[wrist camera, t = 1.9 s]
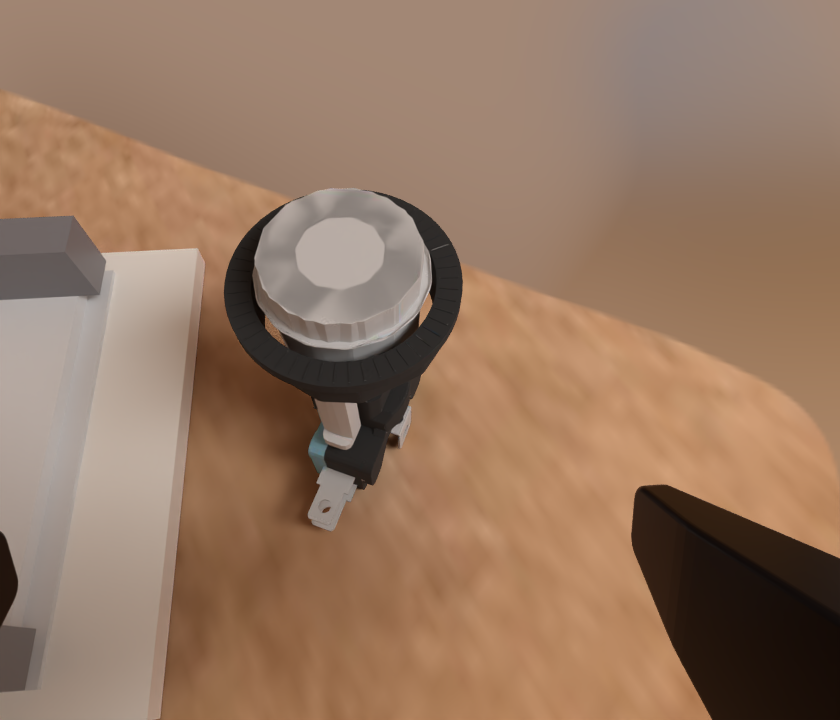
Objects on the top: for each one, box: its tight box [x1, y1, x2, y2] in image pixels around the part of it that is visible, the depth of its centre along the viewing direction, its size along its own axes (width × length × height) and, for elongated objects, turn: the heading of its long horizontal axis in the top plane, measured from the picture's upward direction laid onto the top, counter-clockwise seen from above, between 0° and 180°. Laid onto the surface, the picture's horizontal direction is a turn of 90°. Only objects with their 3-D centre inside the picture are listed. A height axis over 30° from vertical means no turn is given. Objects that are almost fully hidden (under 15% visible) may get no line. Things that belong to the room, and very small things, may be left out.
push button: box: [224, 188, 463, 531], centre depth 17 cm, size 7×5×10 cm
